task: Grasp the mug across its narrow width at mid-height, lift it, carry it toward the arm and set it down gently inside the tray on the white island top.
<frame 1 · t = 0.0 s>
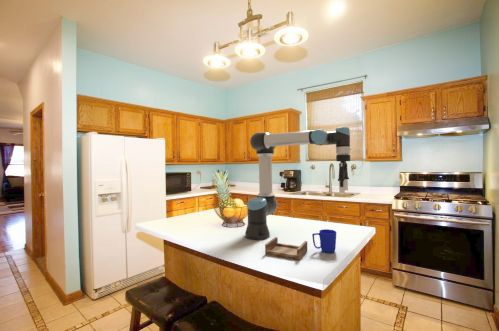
hand: (343, 191, 143), 28 cm above the countertop, fingers open, 13 cm apart
mug: (324, 251, 126), on the countertop
tray: (286, 252, 125), on the countertop
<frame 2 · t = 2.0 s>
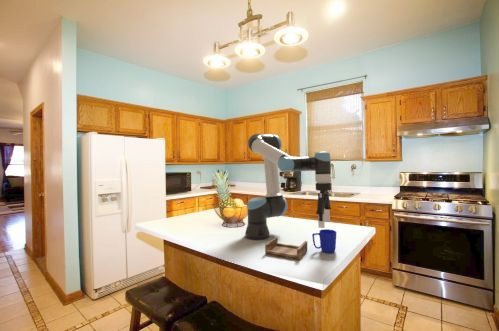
hand: (324, 224, 126), 14 cm above the countertop, fingers open, 13 cm apart
nothing on the countertop moved.
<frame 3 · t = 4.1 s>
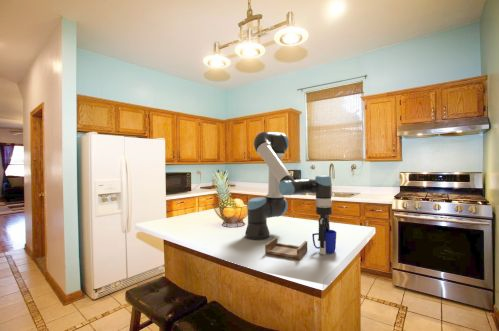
hand: (324, 250, 126), 0 cm above the countertop, fingers open, 9 cm apart
mug: (324, 251, 126), on the countertop, touching gripper
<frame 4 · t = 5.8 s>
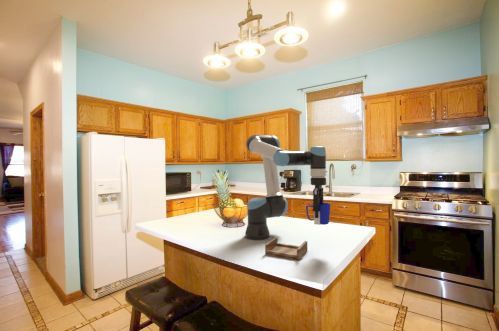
hand: (318, 222, 126), 15 cm above the countertop, fingers closed on mug, 7 cm apart
mug: (318, 224, 125), point 14 cm above the countertop, touching gripper
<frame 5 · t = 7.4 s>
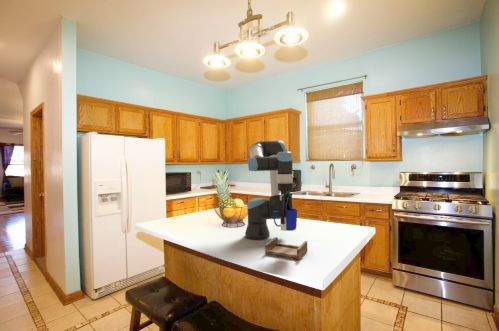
hand: (286, 228, 125), 12 cm above the countertop, fingers closed on mug, 7 cm apart
mug: (285, 230, 124), point 12 cm above the countertop, touching gripper
when the fingers open (2 cm above the countertop, at t = 9.8 s): mug drops 1 cm, resting on tray.
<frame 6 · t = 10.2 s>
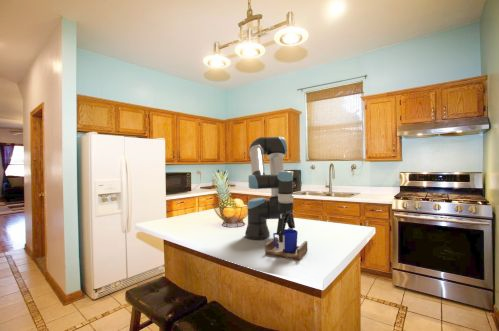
hand: (286, 244, 125), 4 cm above the countertop, fingers open, 13 cm apart
mug: (285, 251, 124), point 1 cm above the countertop, touching tray
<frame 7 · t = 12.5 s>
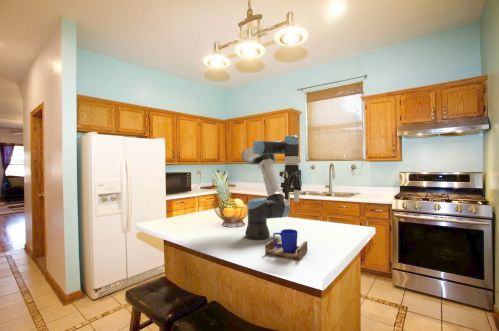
hand: (292, 203, 136), 23 cm above the countertop, fingers open, 13 cm apart
nothing on the countertop moved.
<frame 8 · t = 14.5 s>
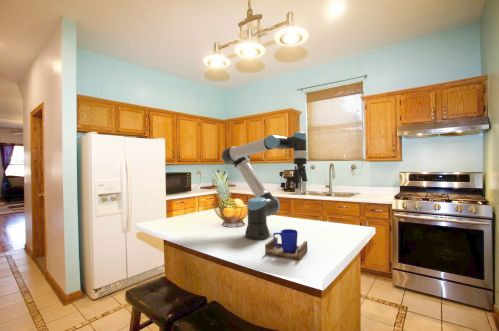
hand: (300, 192, 151), 27 cm above the countertop, fingers open, 13 cm apart
nothing on the countertop moved.
at the end: mug inside the target area on the tray (0.9 cm from its centre), point 0.8 cm above the tray's base; mug tilted 0°; the gripper is holding nothing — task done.
